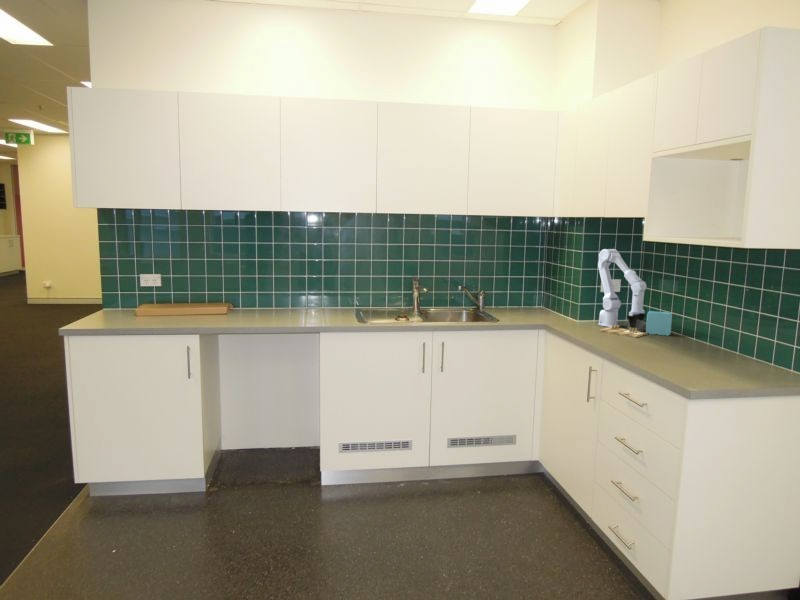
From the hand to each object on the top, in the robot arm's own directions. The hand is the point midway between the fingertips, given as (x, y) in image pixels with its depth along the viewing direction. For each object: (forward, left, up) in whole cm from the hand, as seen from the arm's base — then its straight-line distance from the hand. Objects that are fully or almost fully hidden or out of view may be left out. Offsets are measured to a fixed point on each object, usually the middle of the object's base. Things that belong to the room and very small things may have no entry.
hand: (635, 327), depth 300 cm
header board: (-1, -12, -2) cm, 12 cm away
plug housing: (0, 0, -2) cm, 2 cm away
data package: (+12, +1, -2) cm, 12 cm away
